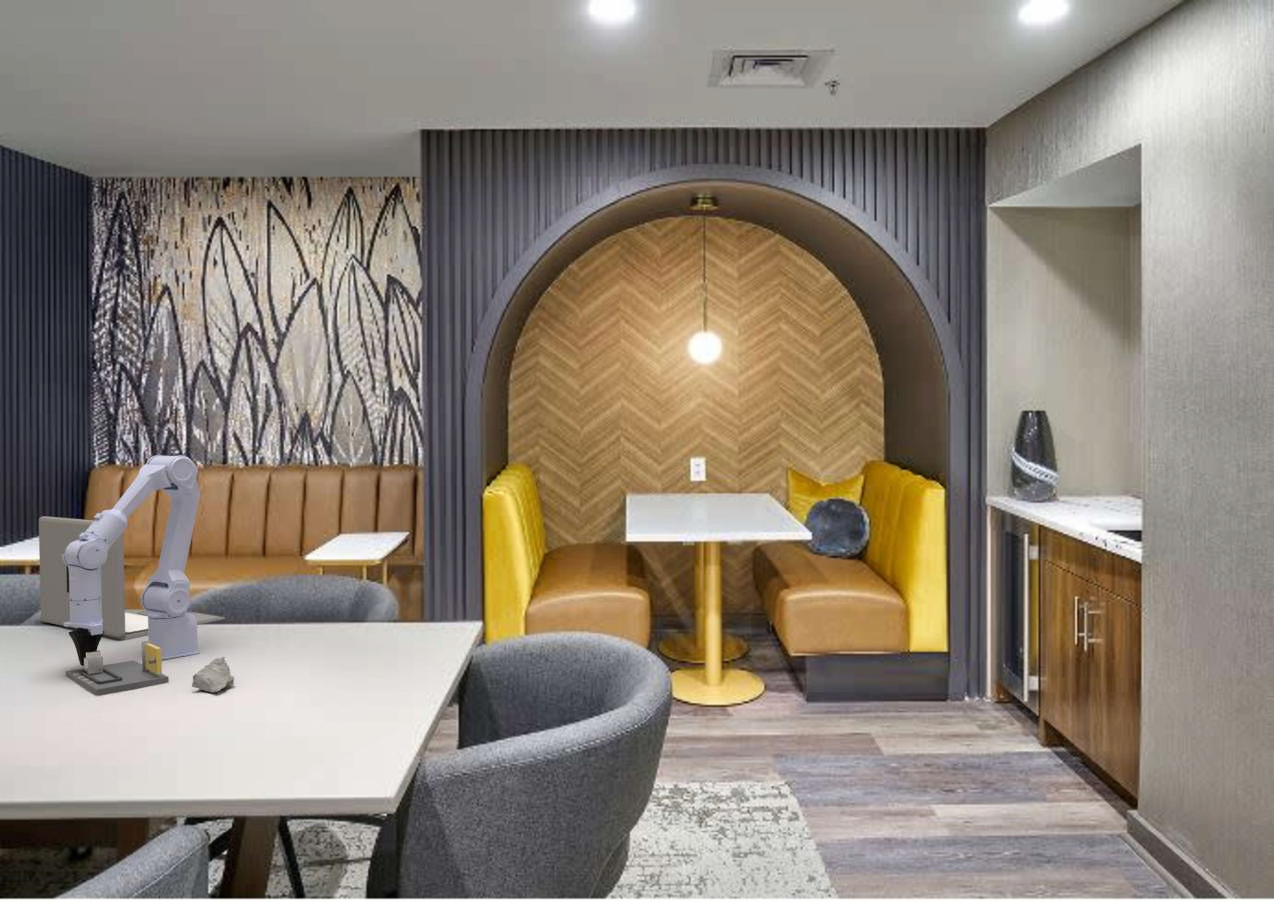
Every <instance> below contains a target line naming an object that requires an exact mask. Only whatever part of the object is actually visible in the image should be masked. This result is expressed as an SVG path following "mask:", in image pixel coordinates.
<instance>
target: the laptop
mask: <svg viewBox="0 0 1274 902" xmlns="http://www.w3.org/2000/svg"><path fill="white" fill-rule="evenodd" d="M94 521H95V520H93V519H92V520H91V519H90V520H89V519H80V518H69V517H56V516H46V515H45V516H44V515H43V516H41V517H39V518H38V544H39V546H38V547H39V548H38V549H39V553H38V555H39V588H40V589H39V591H40V593H39V594H40V620H41V621H42V622H43V623H47V624H48V623H49V624H53V625H57V626H62V627H65V626H64V624H63V623H64V622H69V621H70V594H69V568H68V566H67V565H66V564H65V563H64V561H63V558H62V555H63V554H65V550H66V548H67V546H68V545H69V544H70V543H72V542H73V541H76V540H79V538H80V537H79V535H80V534H81V533H84V532H85V531H86V530H87V529H88V528H89V526H90V525H91V524H92V523H93V522H94ZM124 545H125V544H124V532H123V533H122V534H121V535H120V536H119V537H118V538H117V540H116V541H115V542H114V543H113V544H112V546H111V547H110V548H109V550H108V552H107V559H106V562H105V563H103V564H102V565H101V598H102V618H103V631H104V635H103V636H104V637H109V638H112V639H117V640H121V641H129V640H133V639H138V638H145V637H148V615H147V610H146V609H144V608H143V609H126V606H125V605H126V603H125V602H126V601H125V600H126V599H125V597H126V595H125V552H124V550H125V547H124ZM185 613H193V614H194V616H195V618H196V621H197V626H199V625H204V624H209V623H213V622H217V621H218V622H219V621H222V620H225V619H226V618H225V616H220V615H215V614H208V613H203V612H196V611H191V610H190V611H189V610H186V611H185ZM68 628H69V629H75V630H77V629H78V627H71V626H69V627H68Z"/></svg>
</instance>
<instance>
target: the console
mask: <svg viewBox="0 0 1274 902" xmlns="http://www.w3.org/2000/svg"><path fill="white" fill-rule="evenodd" d="M148 643H150V641H148V640H145V641H141V663H140V662H138V661H136V660H128V661H123V662H122V661H121V662H116V663H115V662H114V663H108V664H103V672H101V673H95V674H89V675H88V674H86V673H85V672H84V667H83V668H77V669H72V670H66V671H65V678H68V679H70V680H71V681H73V682H74V683H75V684H78V686H80V687H82V688H83V689H85V690H87V691H89V692H90V693H92V694H93V695H95V696H97V697H98V696H104V695H108V694H115V693H119V692H124V691H132V690H137V689H142V688H147V687H153V686H158V685H162V684H169V681H170V679H169V676H168V675H165V674H164V673H163V672H162V673H161V674H156V673H154V672H152V671H150V670H148V669H146V659H145V644H148Z"/></svg>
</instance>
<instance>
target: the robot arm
mask: <svg viewBox="0 0 1274 902" xmlns="http://www.w3.org/2000/svg"><path fill="white" fill-rule="evenodd" d="M198 472H199V468H198V467H197V465H196V464H195V463H194V462H193V460H192V459H191V458H190V457H188V456H187V455H161V454H157V455H153V456H152V457H150V458H149V459H148V460H147V461H146V463H145V464H143V466H141V467H140V468H139V471H138V474H137V476H136V477H135V479H134V480H133V481H132V482H131V483H130V486H129V487H128V488H127V489H126V491H125V492H124V493H123V494H122V496H121V497H120V498H119V499H118V501H117V502H116V504H115V505H114V506H113V508H111V509H105V510H102V512H100V513H99V512H97V513H96V514H95V515H94V517H93V518H94V520H93V521H94V522H93V523H92V524H91V525H90V526H89V528H88V529H87V530H86V531H85V532H84V533H81V534H80V535H79V537H80V538H79V540H76V541H73V542H72V543H70V544H69V545H68V546H67V548H66V550H65V554H63V555H62V558H63V561H64V563H65V564H66V565H67V566H68V568H69V594H70V621H69V622H64V623H63V624H64V626H63V627H66V628H69V626H71V627H78V629H76V630H71V631H69V632H68V636H69V637H70V638H71V640H72V642H73V644H74V646H75V647H74V648H75V650H76V654H77V657H78V662H79V664H80V666H81V667H84V658H86V652H91V651H98V647H99V644H100V641H101V640H102V638H103V636H104V631H103V618H102V598H101V565H102V564H103V563H105V562H106V559H107V552H108V550H109V548H110V547H111V546H112V544H113V543H114V542H115V541H116V540H117V538H118V537H119V536H120V535H121V534H122V533H123V534H124V531H125V530H126V529H127V528H128V517H130V516H131V515H132V514H133V513H134V511H135V510H136V509H137V508H139V506H140V505H141V504H142V503H144V501H145V500H146V499H147V498H148V497H149V496H150V495H151V493H152V492H155V491H159V490H163V491H164V492H165V493H166V494H167V495H168V497H169V498H170V500H171V503H170V508H169V513H168V518H167V522H166V528H165V532H164V538H163V543H162V545H161V551H160V555H159V556H160V557H159V560H158V566H157V569H156V571H155V572H153V574H151V576H149V579H148V583H147V585H146V587H145V588H144V589H143V591H142V593H141V596H140V603H141V605H142V608H143V609H146V610H147V615H148V636H147V637H148V640H147V641H150V644H152V645H155V646H157V647H159V648H161V659H162V661H163V660H169V659H175V658H181V657H187V656H194V655H198V654H199V653H200V651H198V648H199V647H198V625H197V621H196V618H195V616H194V614H193V613H185V611H188V609H189V607H190V606H191V602H192V601H191V600H192V598H191V597H192V596H191V593H190V587H191V581H190V580H189V578H188V577H187V575H186V574H185V571H186V567H187V561H188V557H189V551H190V547H191V542H192V538H193V537H192V536H193V533H194V527H195V522H196V516H197V513H198V509H199V502H200V497H201V492H200V487H199V483H198V479H197V478H198Z"/></svg>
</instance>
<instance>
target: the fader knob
mask: <svg viewBox="0 0 1274 902" xmlns="http://www.w3.org/2000/svg"><path fill="white" fill-rule="evenodd" d="M101 653H102V652H101V650H98V649H97V651H91V652H86V658H84V666H83V668H84V672H85V673H86V674H88V675H89V674H95V673H101V672H103V665H104V658H103V657H104V656H102V654H101Z"/></svg>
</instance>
